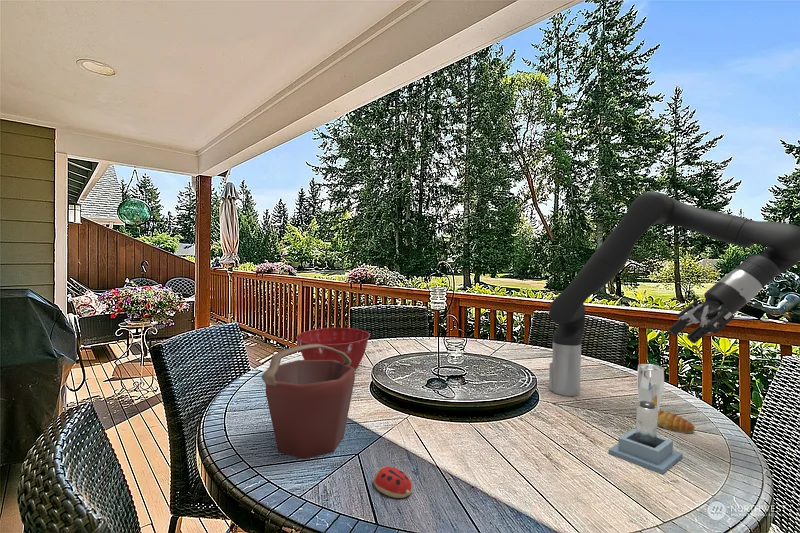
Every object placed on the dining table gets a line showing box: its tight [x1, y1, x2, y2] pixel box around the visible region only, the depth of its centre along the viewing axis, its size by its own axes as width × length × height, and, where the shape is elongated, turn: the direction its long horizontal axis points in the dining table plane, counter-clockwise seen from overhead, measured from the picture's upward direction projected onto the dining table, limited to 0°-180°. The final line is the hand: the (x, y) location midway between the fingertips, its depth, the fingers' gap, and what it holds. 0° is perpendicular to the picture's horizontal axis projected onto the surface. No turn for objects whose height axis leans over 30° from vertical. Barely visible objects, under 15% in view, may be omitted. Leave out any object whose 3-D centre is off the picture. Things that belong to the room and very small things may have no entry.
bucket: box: [261, 344, 356, 460], centre depth 109 cm, size 24×22×25 cm
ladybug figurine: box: [373, 465, 413, 499], centre depth 89 cm, size 7×10×4 cm
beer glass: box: [636, 363, 665, 411], centre depth 126 cm, size 7×7×15 cm
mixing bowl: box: [295, 327, 371, 371], centre depth 167 cm, size 28×28×16 cm
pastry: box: [657, 409, 696, 434], centre depth 119 cm, size 9×7×4 cm
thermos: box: [635, 401, 658, 448], centre depth 103 cm, size 5×5×12 cm
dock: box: [607, 427, 684, 475], centre depth 103 cm, size 12×12×4 cm
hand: (680, 336), depth 106 cm, fingers open, 8 cm apart
